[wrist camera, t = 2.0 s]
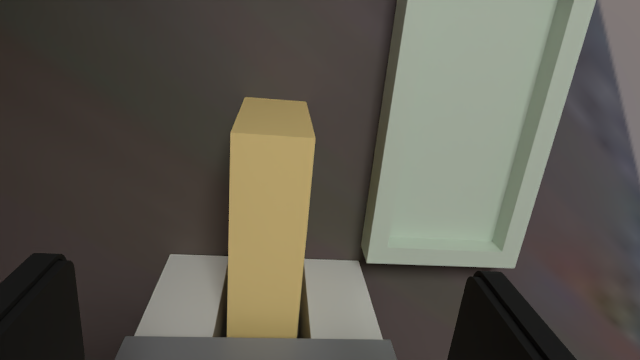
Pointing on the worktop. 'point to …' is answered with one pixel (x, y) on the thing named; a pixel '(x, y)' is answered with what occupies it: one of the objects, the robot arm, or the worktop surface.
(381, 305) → the worktop surface
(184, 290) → the notched white block
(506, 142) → the tray
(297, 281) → the tan wooden brick
